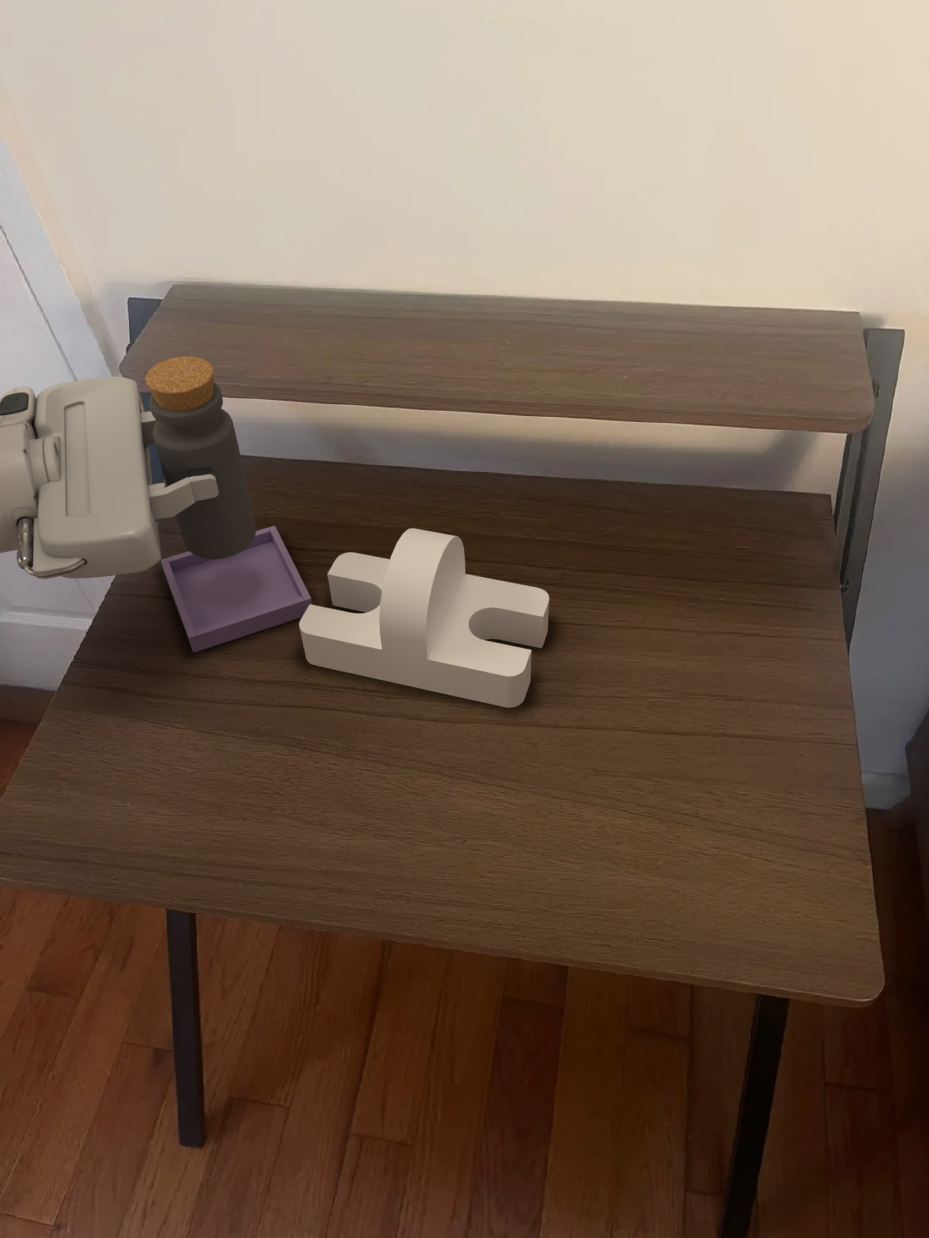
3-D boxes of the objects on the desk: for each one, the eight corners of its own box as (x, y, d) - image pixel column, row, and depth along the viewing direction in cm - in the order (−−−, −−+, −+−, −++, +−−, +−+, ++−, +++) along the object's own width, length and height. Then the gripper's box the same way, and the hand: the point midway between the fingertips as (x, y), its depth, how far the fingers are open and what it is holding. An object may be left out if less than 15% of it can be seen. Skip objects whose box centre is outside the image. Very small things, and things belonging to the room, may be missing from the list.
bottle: (271, 527, 82) (238, 365, 71) (223, 569, 79) (180, 405, 68) (217, 504, 84) (177, 343, 74) (168, 544, 81) (118, 381, 70)
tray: (193, 653, 81) (188, 637, 80) (165, 574, 88) (160, 559, 87) (314, 613, 84) (311, 598, 83) (278, 540, 91) (274, 525, 89)
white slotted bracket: (520, 710, 76) (522, 616, 69) (301, 662, 80) (280, 568, 73) (550, 622, 83) (555, 527, 75) (346, 581, 87) (331, 487, 79)
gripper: (-1, 545, 64) (218, 504, 67) (8, 376, 78) (189, 347, 81) (31, 615, 69) (235, 574, 71) (35, 444, 83) (205, 414, 85)
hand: (211, 452), depth 76 cm, fingers closed on bottle, 6 cm apart
